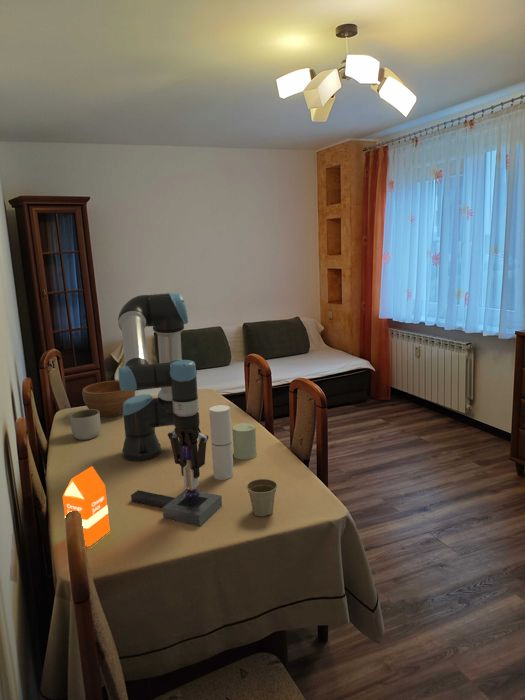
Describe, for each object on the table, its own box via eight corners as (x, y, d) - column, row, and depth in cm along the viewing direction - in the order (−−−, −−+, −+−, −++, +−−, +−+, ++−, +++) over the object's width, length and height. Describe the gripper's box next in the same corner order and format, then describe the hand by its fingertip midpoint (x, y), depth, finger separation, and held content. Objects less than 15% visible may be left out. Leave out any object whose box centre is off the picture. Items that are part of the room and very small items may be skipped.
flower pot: (246, 505, 158) (245, 479, 156) (276, 502, 159) (275, 477, 157) (248, 520, 149) (247, 493, 147) (280, 518, 149) (279, 491, 148)
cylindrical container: (218, 481, 175) (213, 412, 170) (210, 473, 181) (206, 407, 176) (236, 476, 178) (233, 409, 173) (228, 469, 184) (225, 403, 180)
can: (254, 460, 192) (252, 430, 189) (230, 459, 194) (229, 429, 191) (259, 450, 200) (257, 422, 198) (236, 449, 202) (235, 421, 200)
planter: (66, 440, 221) (63, 416, 218) (85, 430, 232) (83, 408, 230) (88, 443, 216) (86, 419, 214) (107, 433, 227) (105, 410, 225)
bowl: (99, 408, 266) (96, 380, 263) (144, 408, 262) (142, 380, 259) (75, 424, 242) (72, 393, 239) (125, 424, 238) (122, 393, 235)
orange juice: (67, 543, 141) (59, 477, 137) (89, 527, 149) (81, 464, 145) (90, 548, 138) (82, 480, 134) (110, 531, 146) (104, 467, 142)
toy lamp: (190, 500, 151) (187, 448, 147) (180, 496, 154) (177, 444, 151) (202, 494, 154) (199, 443, 151) (192, 490, 157) (189, 440, 154)
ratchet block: (121, 508, 159) (120, 498, 158) (147, 490, 170) (146, 481, 170) (200, 526, 147) (199, 515, 146) (222, 505, 158) (221, 495, 157)
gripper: (157, 414, 149) (164, 487, 153) (200, 419, 142) (205, 496, 147) (172, 406, 155) (178, 477, 160) (214, 411, 149) (218, 485, 154)
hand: (191, 486), depth 153 cm, fingers closed on toy lamp, 2 cm apart
